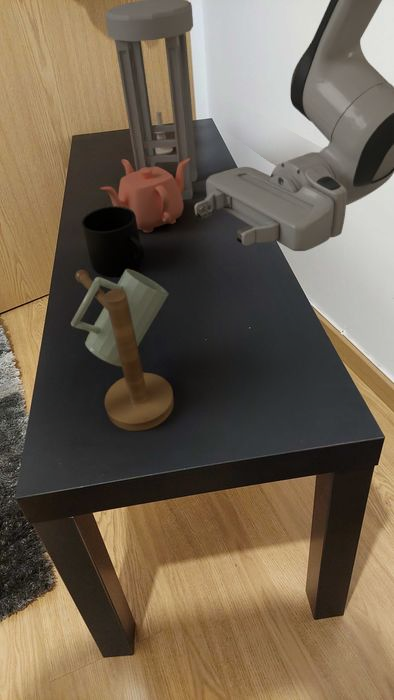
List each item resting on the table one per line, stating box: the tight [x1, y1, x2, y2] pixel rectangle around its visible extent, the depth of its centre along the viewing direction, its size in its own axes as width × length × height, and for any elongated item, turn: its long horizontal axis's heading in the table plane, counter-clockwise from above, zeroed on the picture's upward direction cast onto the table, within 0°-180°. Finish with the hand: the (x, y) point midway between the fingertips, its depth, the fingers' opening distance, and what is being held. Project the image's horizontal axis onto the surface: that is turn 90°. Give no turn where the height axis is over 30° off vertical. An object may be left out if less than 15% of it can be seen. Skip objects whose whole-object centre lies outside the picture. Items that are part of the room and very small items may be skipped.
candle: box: [153, 111, 174, 155], centre depth 130 cm, size 5×5×10 cm
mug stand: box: [74, 269, 175, 432], centre depth 64 cm, size 16×9×18 cm, turn 34°
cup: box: [70, 269, 170, 368], centre depth 64 cm, size 10×6×11 cm
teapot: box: [99, 158, 190, 234], centre depth 102 cm, size 14×14×11 cm
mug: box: [81, 205, 145, 277], centre depth 91 cm, size 9×12×9 cm
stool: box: [104, 0, 198, 201], centre depth 104 cm, size 16×16×35 cm
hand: (217, 224), depth 66 cm, fingers open, 8 cm apart
